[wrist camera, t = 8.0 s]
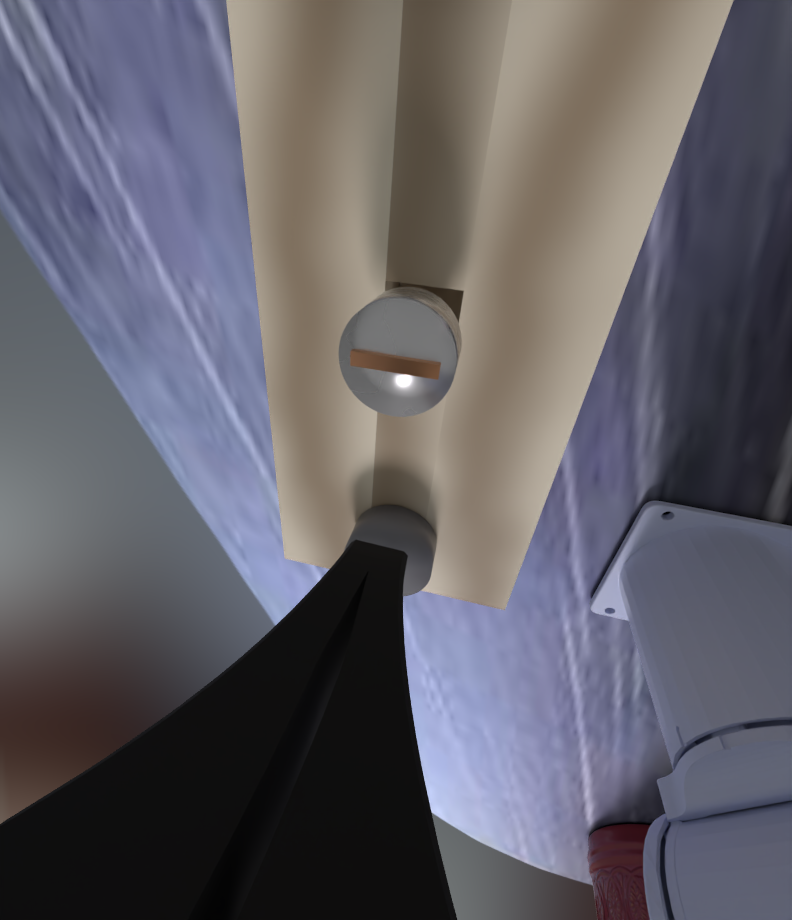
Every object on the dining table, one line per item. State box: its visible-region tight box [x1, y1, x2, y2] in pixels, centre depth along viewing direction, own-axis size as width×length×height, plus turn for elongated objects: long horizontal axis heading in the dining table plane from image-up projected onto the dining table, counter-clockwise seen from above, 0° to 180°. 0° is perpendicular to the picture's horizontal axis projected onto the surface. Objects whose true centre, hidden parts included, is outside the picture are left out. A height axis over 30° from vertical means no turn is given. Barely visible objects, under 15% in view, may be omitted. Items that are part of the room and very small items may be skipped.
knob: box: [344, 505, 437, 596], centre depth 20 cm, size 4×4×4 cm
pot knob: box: [339, 286, 462, 417], centre depth 12 cm, size 3×3×4 cm
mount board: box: [226, 0, 733, 610], centre depth 15 cm, size 12×27×3 cm, turn 175°
